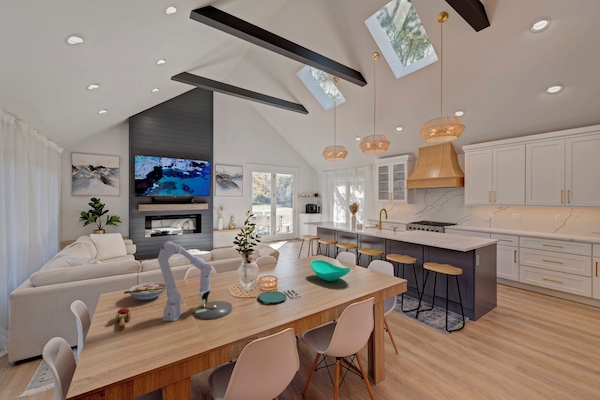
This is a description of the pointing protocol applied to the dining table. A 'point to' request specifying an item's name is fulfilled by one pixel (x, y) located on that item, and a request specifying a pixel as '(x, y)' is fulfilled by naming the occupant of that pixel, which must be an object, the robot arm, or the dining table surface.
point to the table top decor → (328, 270)
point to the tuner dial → (213, 310)
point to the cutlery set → (273, 297)
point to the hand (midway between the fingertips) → (204, 303)
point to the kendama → (122, 317)
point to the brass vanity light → (207, 306)
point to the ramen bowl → (147, 290)
